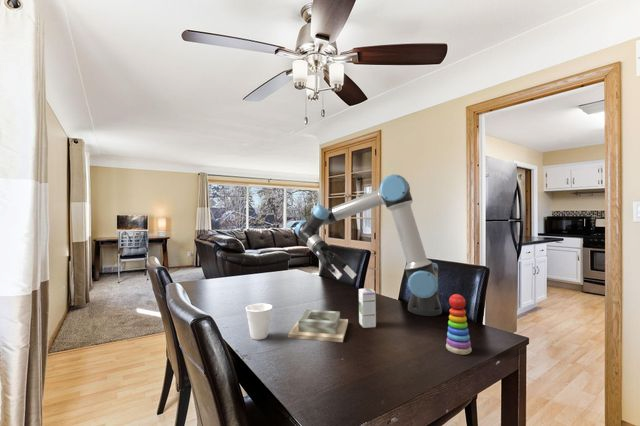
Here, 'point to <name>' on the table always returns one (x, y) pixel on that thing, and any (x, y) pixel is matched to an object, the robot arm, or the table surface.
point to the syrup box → (367, 308)
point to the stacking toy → (458, 327)
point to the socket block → (320, 326)
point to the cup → (259, 320)
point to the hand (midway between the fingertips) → (347, 276)
